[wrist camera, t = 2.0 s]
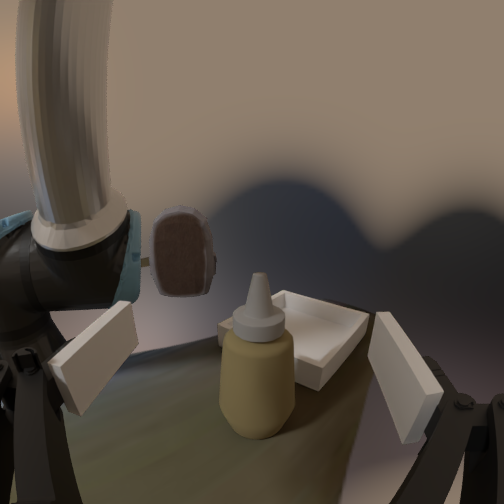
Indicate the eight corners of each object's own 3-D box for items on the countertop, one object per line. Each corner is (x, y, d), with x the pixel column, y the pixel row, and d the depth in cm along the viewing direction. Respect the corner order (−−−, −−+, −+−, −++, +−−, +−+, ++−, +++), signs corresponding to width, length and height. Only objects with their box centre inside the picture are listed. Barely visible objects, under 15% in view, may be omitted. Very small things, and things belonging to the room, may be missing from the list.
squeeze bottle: (232, 394, 34) (229, 257, 29) (296, 404, 32) (311, 264, 27) (210, 439, 26) (194, 286, 21) (285, 453, 24) (304, 298, 20)
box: (218, 345, 45) (217, 323, 44) (282, 308, 58) (283, 290, 57) (318, 391, 34) (322, 368, 33) (365, 333, 47) (369, 313, 46)
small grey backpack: (149, 300, 60) (141, 208, 55) (156, 286, 68) (150, 204, 63) (218, 300, 62) (215, 205, 57) (218, 285, 70) (216, 201, 65)
